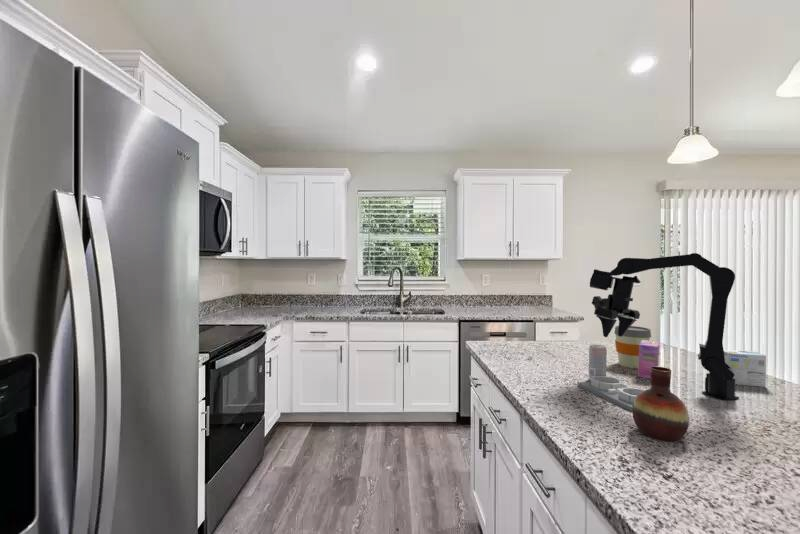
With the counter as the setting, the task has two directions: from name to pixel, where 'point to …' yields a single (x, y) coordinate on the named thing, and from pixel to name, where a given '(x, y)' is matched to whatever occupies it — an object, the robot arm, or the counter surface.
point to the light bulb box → (747, 367)
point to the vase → (660, 409)
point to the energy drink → (597, 360)
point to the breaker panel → (612, 390)
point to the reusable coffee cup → (630, 345)
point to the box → (647, 358)
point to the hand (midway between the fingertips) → (612, 336)
